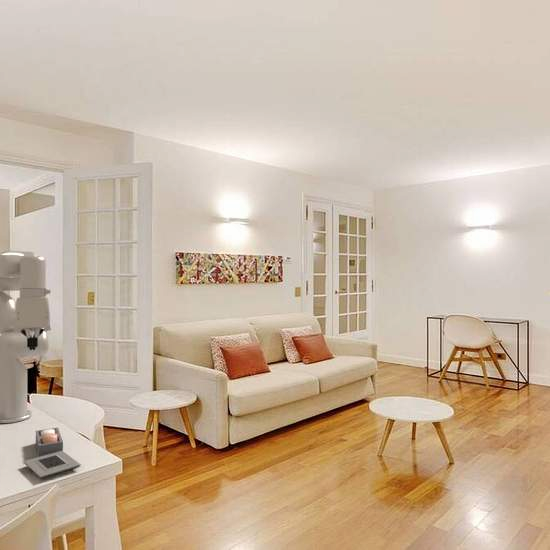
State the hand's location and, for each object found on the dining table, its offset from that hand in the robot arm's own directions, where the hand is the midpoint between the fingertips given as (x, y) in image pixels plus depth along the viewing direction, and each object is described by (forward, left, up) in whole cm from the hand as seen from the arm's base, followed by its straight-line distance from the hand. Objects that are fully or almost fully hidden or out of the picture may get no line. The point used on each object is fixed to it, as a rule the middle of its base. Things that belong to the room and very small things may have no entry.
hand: (32, 349), depth 150 cm
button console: (+13, +4, -29) cm, 32 cm away
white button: (+10, +4, -29) cm, 31 cm away
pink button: (+17, +4, -28) cm, 33 cm away
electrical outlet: (+28, +4, -30) cm, 41 cm away
